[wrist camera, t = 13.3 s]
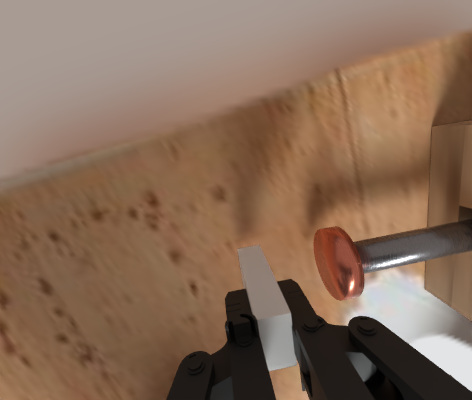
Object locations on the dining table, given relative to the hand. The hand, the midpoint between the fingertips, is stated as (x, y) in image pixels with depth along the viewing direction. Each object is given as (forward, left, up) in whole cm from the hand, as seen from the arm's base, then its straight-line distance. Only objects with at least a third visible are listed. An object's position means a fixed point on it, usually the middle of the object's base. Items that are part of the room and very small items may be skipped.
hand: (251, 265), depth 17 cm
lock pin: (+11, 0, -1) cm, 12 cm away
